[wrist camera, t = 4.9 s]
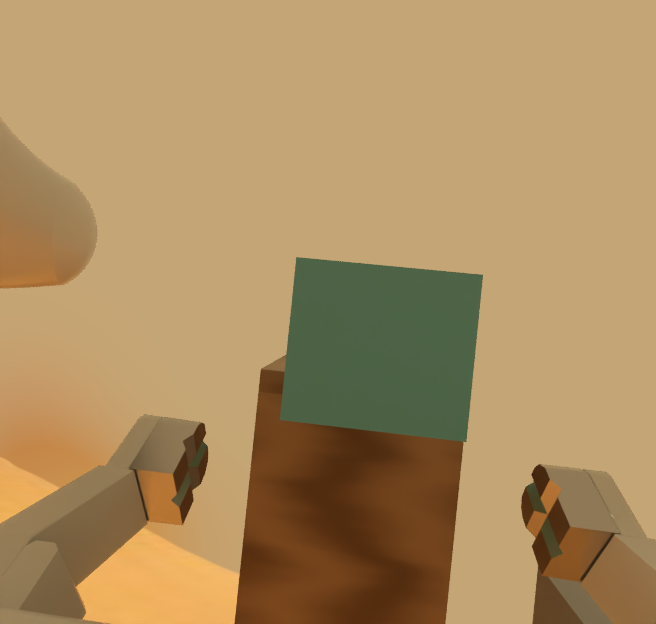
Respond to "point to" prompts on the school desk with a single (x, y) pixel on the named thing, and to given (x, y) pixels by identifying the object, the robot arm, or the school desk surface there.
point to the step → (565, 603)
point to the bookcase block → (345, 522)
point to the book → (381, 348)
